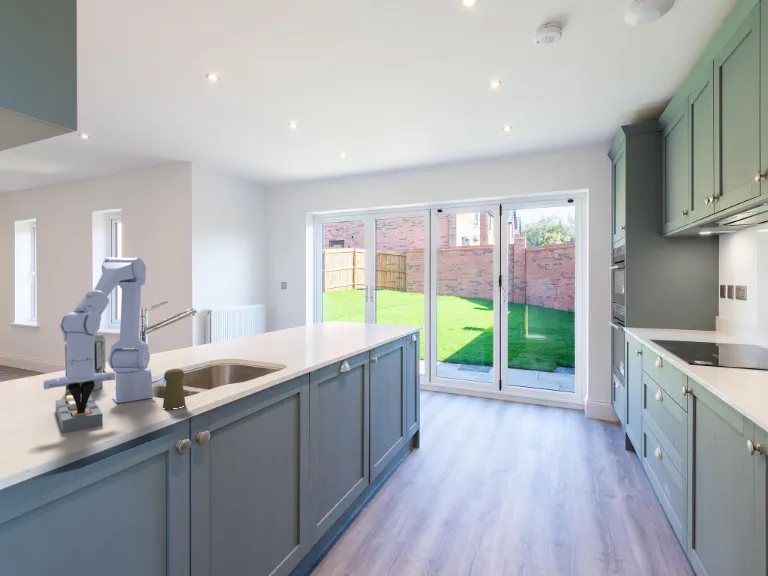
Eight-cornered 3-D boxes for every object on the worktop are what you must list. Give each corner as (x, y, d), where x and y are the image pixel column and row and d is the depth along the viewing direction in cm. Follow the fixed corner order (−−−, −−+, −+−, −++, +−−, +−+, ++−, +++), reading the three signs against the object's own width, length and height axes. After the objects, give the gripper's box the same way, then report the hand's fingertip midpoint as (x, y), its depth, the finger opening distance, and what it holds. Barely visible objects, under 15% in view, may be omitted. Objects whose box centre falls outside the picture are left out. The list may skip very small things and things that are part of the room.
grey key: (85, 409, 111) (85, 398, 111) (87, 412, 108) (87, 401, 108) (68, 412, 108) (68, 401, 108) (70, 415, 106) (70, 404, 105)
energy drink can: (106, 369, 168) (106, 333, 168) (104, 372, 163) (104, 335, 162) (88, 370, 165) (88, 334, 165) (86, 373, 160) (86, 336, 159)
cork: (180, 402, 122) (180, 366, 122) (189, 406, 119) (189, 369, 118) (158, 407, 118) (158, 369, 118) (167, 411, 114) (167, 372, 114)
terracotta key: (88, 420, 105) (88, 408, 105) (90, 423, 103) (90, 412, 103) (71, 423, 103) (71, 411, 103) (73, 427, 100) (72, 415, 100)
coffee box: (103, 385, 141) (103, 340, 141) (97, 390, 135) (97, 342, 135) (72, 388, 138) (71, 341, 138) (64, 392, 132) (64, 343, 132)
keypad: (90, 405, 119) (90, 395, 119) (102, 425, 103) (102, 413, 103) (55, 411, 113) (55, 400, 113) (62, 432, 97) (62, 420, 97)
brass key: (82, 403, 116) (82, 393, 116) (83, 406, 113) (83, 396, 113) (66, 406, 113) (66, 395, 113) (67, 409, 111) (67, 398, 111)
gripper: (44, 365, 95) (44, 422, 95) (117, 357, 105) (117, 409, 105) (43, 361, 100) (43, 415, 100) (112, 354, 110) (112, 403, 110)
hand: (81, 412), depth 103 cm, fingers closed, pressing on terracotta key
